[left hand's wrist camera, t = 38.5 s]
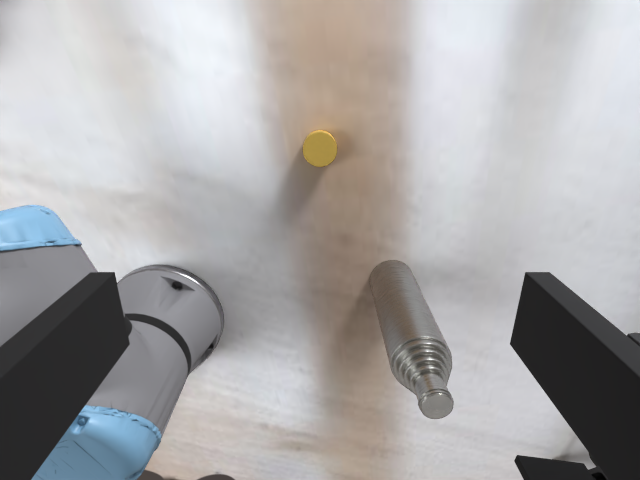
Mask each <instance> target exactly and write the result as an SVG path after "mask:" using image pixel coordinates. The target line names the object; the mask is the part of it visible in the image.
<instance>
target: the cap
mask: <svg viewBox="0 0 640 480" xmlns="http://www.w3.org/2000/svg"><path fill="white" fill-rule="evenodd" d="M303 154H304V157H305V159H306V160H307V161H308V162H309V163H310V164H311V165H313V166H317V167H323V166H327V165H329V164H330V163H331V162H332V161H333V160H334V159H335V157H336V154H337V145H336V141H335V139H334V137H333V136H332V135H331V134H330V133H328V132H327V131H323V130H317V131H313V132H311V133H310V134H309V135H308V136H307V137H306V139H305V141H304V144H303Z"/></svg>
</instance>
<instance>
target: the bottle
mask: <svg viewBox="0 0 640 480" xmlns="http://www.w3.org/2000/svg"><path fill="white" fill-rule="evenodd" d="M370 287H371V291H372V295H373V299H374V303H375V307H376V311H377V315H378V319H379V323H380V327H381V331H382V335H383V339H384V343H385V347H386V351H387V355H388V359H389V363H390V367H391V371H392V373H393V375H394V376H395V377H396V379H397V380H398V381H399V382H400V383H401V384H402V385H403V386H405V387H406V388H407V389H409V390H410V391H412V392H413V393H414V394H415V395H416V396H417V399H418V405H419V408H420V410H421V411H422V413H423V414H424V415H425V416H426V417H428V418H431V419H440V418H443V417H445V416H447V415H448V414H449V413H450V412H451V411H452V409H453V403H454V401H453V398H452V396H451V394H450V392H449V391H448V389H447V387H446V386H447V382H448V379H449V376H450V372H451V369H452V356H451V352H450V350H449V348H448V346H447V344H446V342H445V340H444V338H443V335H442V333H441V331H440V329H439V327H438V325H437V323H436V321H435V319H434V317H433V315H432V313H431V311H430V309H429V307H428V305H427V303H426V300H425V298H424V296H423V294H422V292H421V290H420V288H419V286H418V284H417V282H416V280H415V278H414V276H413V274H412V272H411V270H410V268H409V267H408V266H407V265H406V264H404V263H402V262H400V261H395V260H390V261H385V262H383V263H381V264H379V265H378V266H376V267H375V268H374V270H373V271H372V273H371V275H370Z"/></svg>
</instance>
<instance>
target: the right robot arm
mask: <svg viewBox="0 0 640 480" xmlns="http://www.w3.org/2000/svg"><path fill="white" fill-rule="evenodd" d="M627 337H629V338H630V339H631V340H632V341H633V342H635V343H636V344H637V345H638V346H640V333H631V334H628V335H627ZM515 463H516V465H517V467H518V469H519V471H520V473H521V475H522V477H523V479H524V480H609V479H608V478H607V476H606V475H605V474H604V472H603V471H602V470H601V468H600V467H599V466H598V467H595V468H593V469H590V470H588V469H587V468H586V466H585V465H584V464H583V463H575V462H567V461H559V460H551V459H544V458H536V457H528V456H520V455H517V456H516V459H515Z"/></svg>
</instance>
